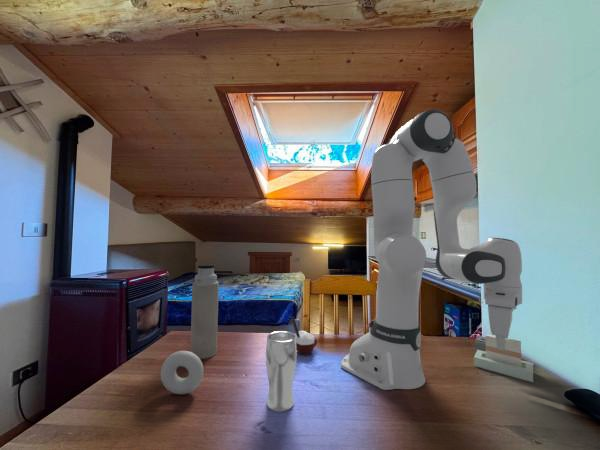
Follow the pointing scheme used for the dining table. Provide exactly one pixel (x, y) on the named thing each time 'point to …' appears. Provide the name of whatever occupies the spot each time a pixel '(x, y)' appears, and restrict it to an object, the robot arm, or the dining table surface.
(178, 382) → the donut
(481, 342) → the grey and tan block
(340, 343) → the dining table surface
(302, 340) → the coconut drink with straw
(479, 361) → the tray
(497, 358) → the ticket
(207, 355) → the thermos bottle
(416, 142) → the robot arm
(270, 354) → the beer glass
